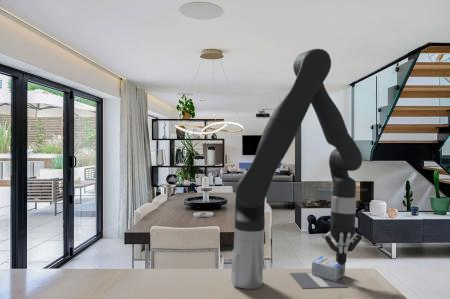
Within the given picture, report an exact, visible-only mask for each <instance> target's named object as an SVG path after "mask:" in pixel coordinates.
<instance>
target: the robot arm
mask: <svg viewBox="0 0 450 299" xmlns="http://www.w3.org/2000/svg"><path fill="white" fill-rule="evenodd" d="M292 66H293V67H292V70H293V72H294V75H295V77H296V78H295V80H294V82H293V84H292V86H291V88H290V90H289V91H288V93H287V94H286V95H285V96H284V98H283V99H282V100H281V101H280V102H279V104H278V105H277V106H276V107H275V109H274V110H273V112H272V114H271V115H270V116H269V119H268V122H267V123H266V125H265V127H264V130H263V131H262V135H261V137H260V140H259V143H258V145H257V148H256V152H255V155H254V157H253V160H252V162H251V164H250V166H249V167H248V169H247V171H246V172H245V174H244V175H243V177H241V178H240V179H239V180H238V182H236V186H235V207H234V208H235V209H234V230H233V231H234V233H233V234H234V235H233V249H232V252H231V253H232V254H231V259H232V260H231V281H232V285H233V287H234V288H241V289H243V290H245V289H246V290H252V289H253V290H254V289H259V288H260V287H262V286H263V283H264V282H263V280H264V256H265V255H264V250H265V248H264V247H265V246H264V245H265V227H266V226H265V225H266V223H265V222H266V220H265V215H266V214H265V208H266V207H265V206H266V204H265V202H266V198H267V194H268V192H269V189H270V185H271V183H272V181H273V178H274V176H275V174H276V171H277V169H278V167H279V166H280V164H281V163H282V162H283V159H284V158H285V156H286V154H287V153H288V150H289V149H290V147H291V145H292V143H293V142H294V140H295V138H296V135H297V133H299V132H298V131H299V129H300V127H301V125H302V123H303V120H304V119H305V117H306V114H307V112H308V110H309V108H310V106H312V108H313V110H314V112H315V116H316V118H317V120H318V122H319V125H320V127H321V131H322V133H323V136H324V138H325V140H326V142H327V144H328V145H331V146H332V147H335V148H334V149H333V150H332V151H331V153H330V155H329V159H328V164H329V166H328V167H329V171H330V177H331V179H332V196H331V203H330V204H331V205H330V227H329V229H328V232H327V233H326V234H325V233H323V234H322V238H323V240H324V241H325V242H326V244H327V245H328V247H329V248H330V250H332V251H334V252H335V260H336V262H337V263H338V264H339V265H345V266H346V263H347V253H348V252H353V251H354V249H355V248H356V247H357V246H358V244H359V243H360V241H361V240H362V238H363V236H361V235H360V234H359V233H357V230H356V228H355V226H356V217H357V216H356V214H357V213H356V211H357V202H356V201H357V200H356V199H357V198H356V193H357V190H356V189H357V184H356V183H357V182H356V181H355V179H354V178H352V177H350V175H349V172H354V171H357V170H359V169H360V167H362V163H363V156H362V152H361V149H360V148H359V147H358V145H357V144H356V142H355V141H354V139H353V137H351V135H350V134H349V131H348V128H347V125H346V123H345V120H344V117H343V115H342V113H341V111H340V110H339V108H338V107H337V105H336V104H335V102H334V101H333V100H332V98H331V96H330V95H329V93H328V91H327V89H326V87H325V84H324V81H325V80H326V79H327V77H328V75H329V74H330V71H331V68H332V60H331V56H330V54H329V52H327V51H326V50H325V49H322V48H314V49H313V48H312V49H309V50H307V51H304V52H302V53H300V54H298V55H297V56H296V58H294V61H293V65H292ZM332 240H334V242H333V241H332Z"/></svg>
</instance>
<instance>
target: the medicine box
mask: <svg viewBox="0 0 450 299" xmlns="http://www.w3.org/2000/svg"><path fill="white" fill-rule="evenodd" d="M311 273H312V275H315V276H318V277H322V278H325V279H329V280H333V281H337V280H338V279H339V280H341V278H342V277H344V276H345V275H346V274H345V273H346V264H345V265H339V264H338V263H337V262H336V259H333V258H330V257H325V256H319V257H318V258H316V259H314V260H313V261H312V262H311Z"/></svg>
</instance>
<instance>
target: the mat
mask: <svg viewBox="0 0 450 299" xmlns="http://www.w3.org/2000/svg"><path fill="white" fill-rule="evenodd" d="M289 274H290V275H291V277H292V278H293V279H294V280H295V282H296V283H297V284H299V286H300V287H301V289H303V290H304V289H306V288H307V289H334V288H335V289H336V288H341V289H342V288H348V287H349V286H348V285H347V284H345V283H344V282H343V281H342V280H341V279H338V280H337V281H333V280H329V279H325V278H322V277H318V276H315V275H312V272H290V273H289Z"/></svg>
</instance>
